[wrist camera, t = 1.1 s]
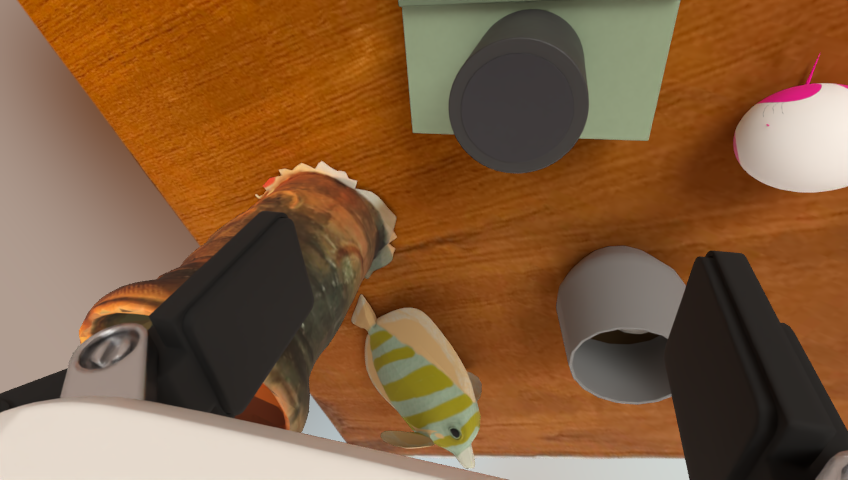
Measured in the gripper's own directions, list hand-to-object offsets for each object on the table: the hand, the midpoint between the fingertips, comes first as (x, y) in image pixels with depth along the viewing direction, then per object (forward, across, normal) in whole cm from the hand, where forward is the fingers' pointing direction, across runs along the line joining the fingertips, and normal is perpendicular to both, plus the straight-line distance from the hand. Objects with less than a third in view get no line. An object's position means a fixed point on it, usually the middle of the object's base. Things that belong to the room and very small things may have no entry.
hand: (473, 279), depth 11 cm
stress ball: (+24, -16, +4) cm, 29 cm away
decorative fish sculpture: (+24, +9, +30) cm, 39 cm away
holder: (+18, 0, 0) cm, 18 cm away
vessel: (+24, +18, +15) cm, 33 cm away
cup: (+24, -8, +18) cm, 31 cm away
